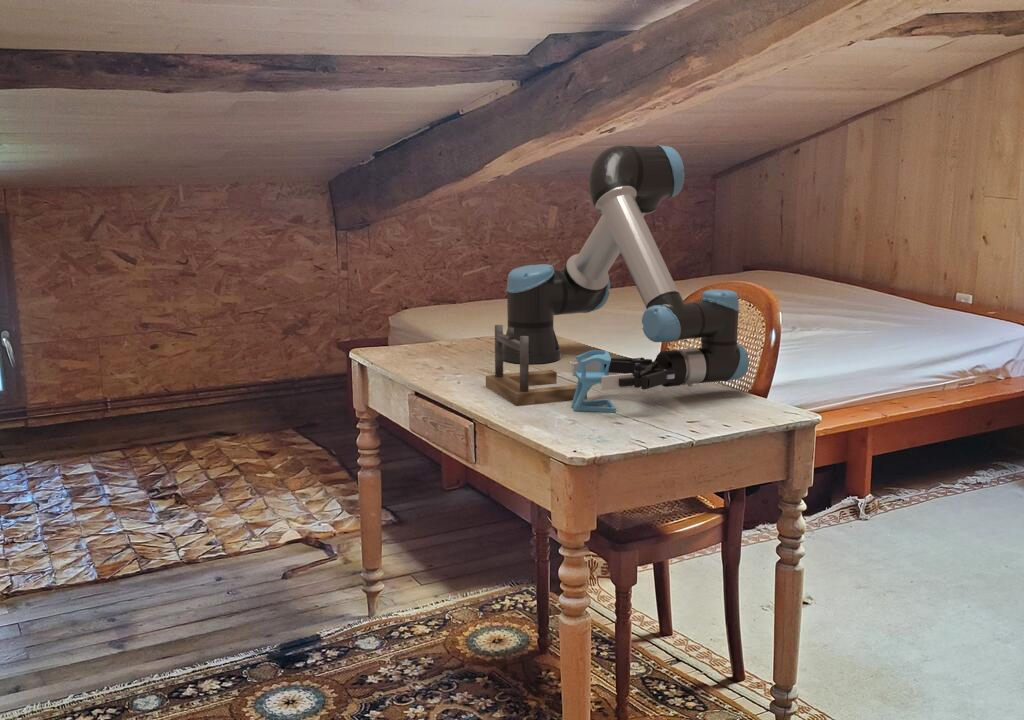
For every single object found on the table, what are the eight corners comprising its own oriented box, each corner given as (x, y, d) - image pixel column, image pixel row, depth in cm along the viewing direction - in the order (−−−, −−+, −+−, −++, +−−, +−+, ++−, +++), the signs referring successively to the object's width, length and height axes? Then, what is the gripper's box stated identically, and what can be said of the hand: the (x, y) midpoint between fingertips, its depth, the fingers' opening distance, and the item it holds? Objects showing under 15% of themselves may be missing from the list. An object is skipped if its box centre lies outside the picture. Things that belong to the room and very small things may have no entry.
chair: (569, 404, 206) (570, 347, 203) (609, 403, 206) (610, 346, 204) (575, 413, 198) (575, 354, 196) (616, 412, 199) (617, 353, 196)
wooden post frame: (551, 380, 228) (551, 317, 225) (586, 398, 210) (587, 330, 207) (485, 386, 222) (485, 322, 219) (516, 405, 205) (516, 336, 202)
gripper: (710, 398, 197) (615, 408, 189) (649, 373, 220) (561, 381, 212) (712, 361, 196) (616, 370, 188) (649, 339, 218) (561, 347, 211)
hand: (587, 376), depth 200 cm, fingers open, 13 cm apart
